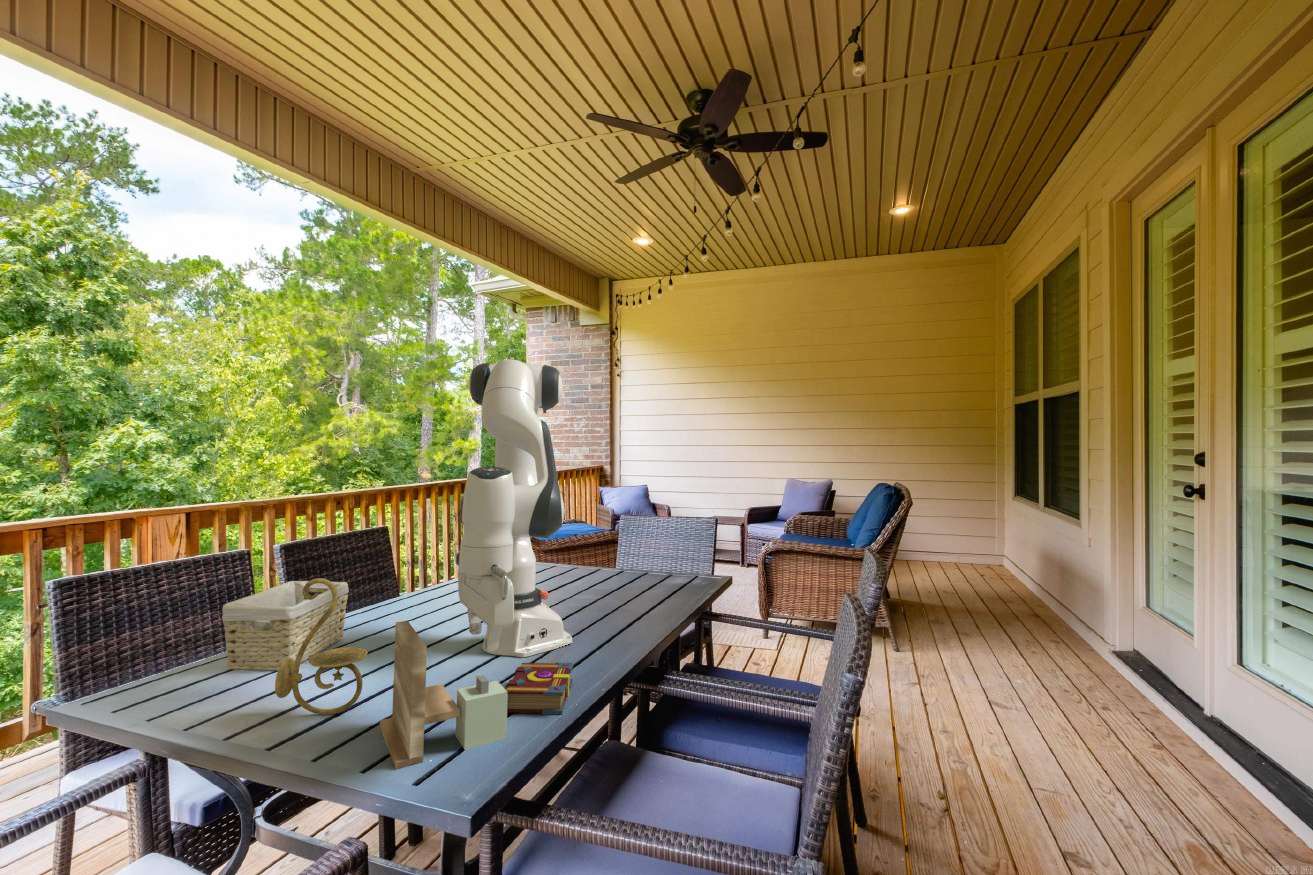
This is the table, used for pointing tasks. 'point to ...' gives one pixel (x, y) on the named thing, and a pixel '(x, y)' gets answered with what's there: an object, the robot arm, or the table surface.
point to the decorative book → (539, 688)
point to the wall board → (413, 700)
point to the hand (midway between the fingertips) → (483, 641)
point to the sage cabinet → (481, 713)
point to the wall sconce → (320, 661)
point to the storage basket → (281, 625)
